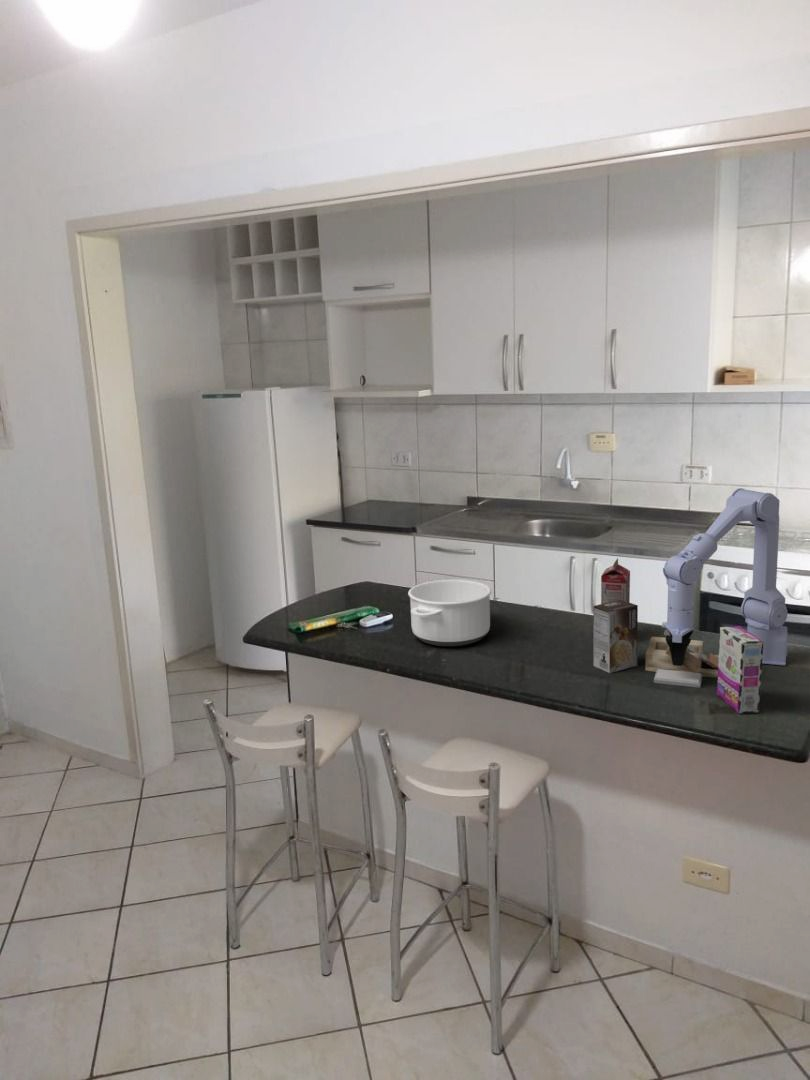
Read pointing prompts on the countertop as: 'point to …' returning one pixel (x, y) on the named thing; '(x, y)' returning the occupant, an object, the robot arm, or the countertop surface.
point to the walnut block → (688, 661)
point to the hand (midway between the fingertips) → (678, 661)
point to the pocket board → (661, 660)
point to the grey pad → (678, 678)
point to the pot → (450, 612)
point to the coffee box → (615, 635)
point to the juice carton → (615, 584)
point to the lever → (710, 660)
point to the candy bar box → (739, 669)
